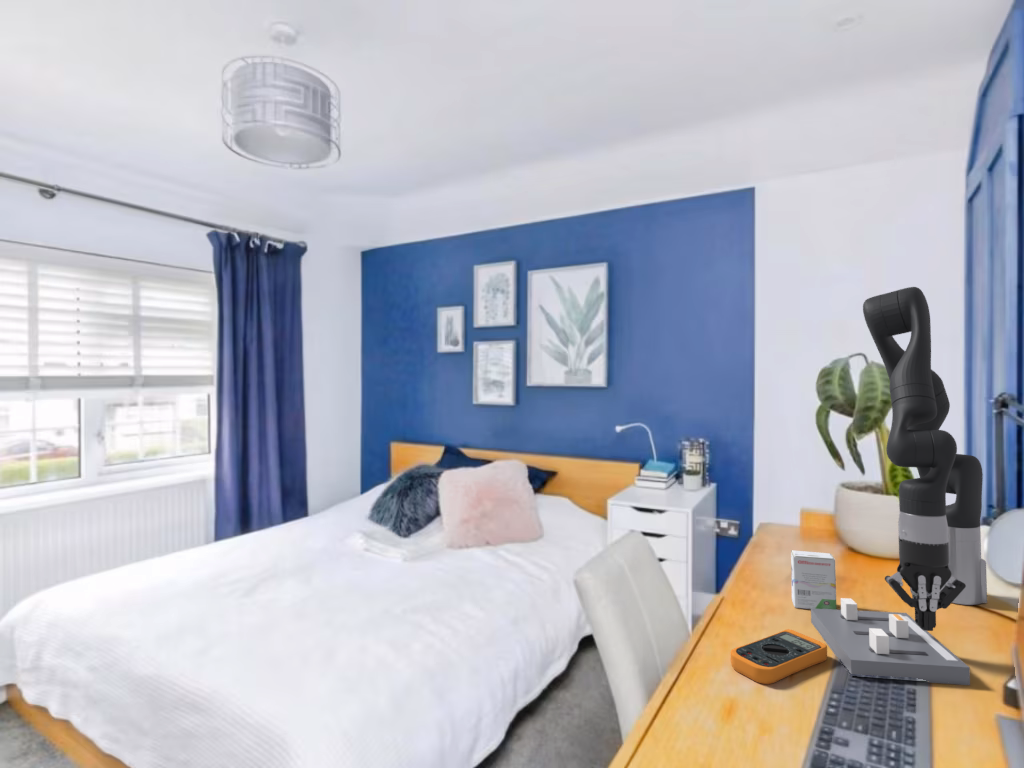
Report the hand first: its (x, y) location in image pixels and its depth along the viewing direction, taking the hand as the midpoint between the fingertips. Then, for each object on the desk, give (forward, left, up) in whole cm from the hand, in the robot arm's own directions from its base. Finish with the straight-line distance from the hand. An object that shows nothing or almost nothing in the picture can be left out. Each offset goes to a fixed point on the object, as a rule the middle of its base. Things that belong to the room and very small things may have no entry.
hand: (925, 628), depth 104 cm
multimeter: (+28, +8, -5) cm, 29 cm away
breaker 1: (+10, -7, -1) cm, 13 cm away
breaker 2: (+10, +7, -1) cm, 13 cm away
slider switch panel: (+7, 0, -5) cm, 9 cm away
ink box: (+13, -20, -5) cm, 25 cm away
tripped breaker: (+4, 0, -1) cm, 5 cm away
